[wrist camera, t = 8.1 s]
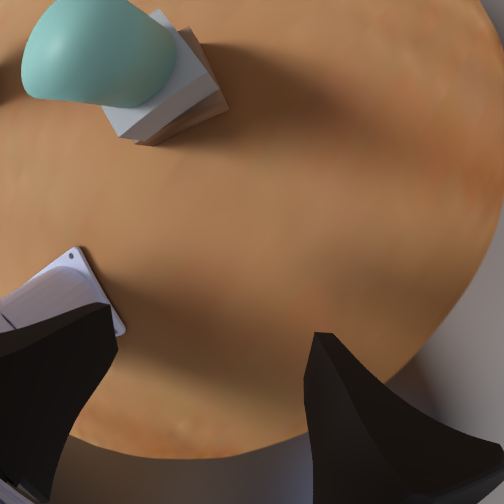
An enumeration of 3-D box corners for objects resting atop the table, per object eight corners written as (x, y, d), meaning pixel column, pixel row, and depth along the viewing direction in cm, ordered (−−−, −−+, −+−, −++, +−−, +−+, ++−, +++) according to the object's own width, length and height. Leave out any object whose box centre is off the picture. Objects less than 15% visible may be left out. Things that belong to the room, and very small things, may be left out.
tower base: (154, 146, 17) (134, 144, 14) (130, 81, 16) (108, 70, 13) (230, 110, 16) (222, 99, 13) (200, 44, 15) (188, 26, 12)
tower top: (144, 141, 14) (118, 137, 11) (109, 81, 13) (81, 69, 10) (219, 88, 13) (207, 71, 10) (176, 30, 12) (158, 8, 9)
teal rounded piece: (107, 124, 11) (26, 123, 7) (90, 55, 10) (20, 36, 5) (188, 79, 10) (120, 44, 5) (163, 8, 9) (103, -38, 4)
